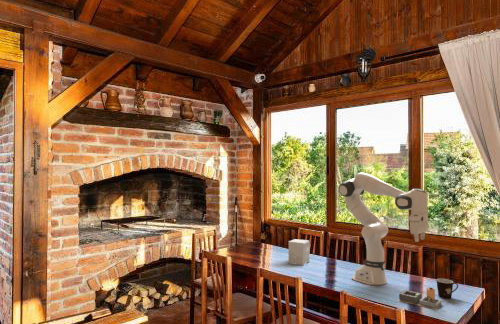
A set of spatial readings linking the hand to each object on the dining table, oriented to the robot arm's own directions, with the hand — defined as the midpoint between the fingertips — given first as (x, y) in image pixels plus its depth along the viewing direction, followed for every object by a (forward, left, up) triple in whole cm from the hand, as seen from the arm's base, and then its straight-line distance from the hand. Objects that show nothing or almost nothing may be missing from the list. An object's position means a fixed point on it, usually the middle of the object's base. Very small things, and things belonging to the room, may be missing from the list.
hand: (419, 240), depth 208 cm
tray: (+8, -10, -32) cm, 35 cm away
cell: (+9, -10, -32) cm, 34 cm away
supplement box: (-98, +18, -33) cm, 105 cm away
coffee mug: (+12, +10, -33) cm, 37 cm away
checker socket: (-2, -10, -32) cm, 34 cm away
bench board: (+3, -10, -33) cm, 35 cm away
